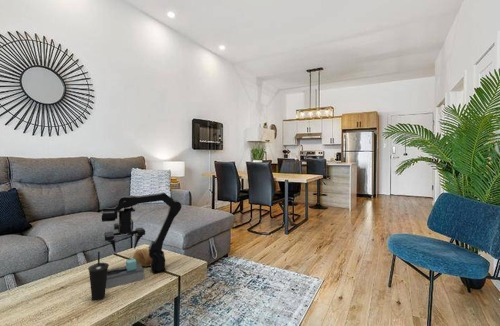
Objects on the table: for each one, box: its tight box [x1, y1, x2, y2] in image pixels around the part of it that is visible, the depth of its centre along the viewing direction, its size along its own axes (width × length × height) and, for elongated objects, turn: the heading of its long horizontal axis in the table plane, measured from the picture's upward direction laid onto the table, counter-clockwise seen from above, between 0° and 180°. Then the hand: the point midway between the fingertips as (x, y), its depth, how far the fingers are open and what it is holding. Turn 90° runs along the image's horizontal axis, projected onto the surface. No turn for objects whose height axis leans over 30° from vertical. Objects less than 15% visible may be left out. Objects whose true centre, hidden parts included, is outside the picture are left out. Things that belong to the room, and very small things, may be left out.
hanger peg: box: [125, 258, 137, 271], centre depth 127 cm, size 4×4×8 cm
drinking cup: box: [87, 251, 109, 302], centre depth 109 cm, size 8×8×20 cm
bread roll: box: [132, 248, 152, 267], centre depth 145 cm, size 10×15×8 cm, turn 47°
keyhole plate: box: [106, 263, 145, 290], centre depth 125 cm, size 18×9×5 cm, turn 126°
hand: (124, 250), depth 130 cm, fingers open, 9 cm apart
